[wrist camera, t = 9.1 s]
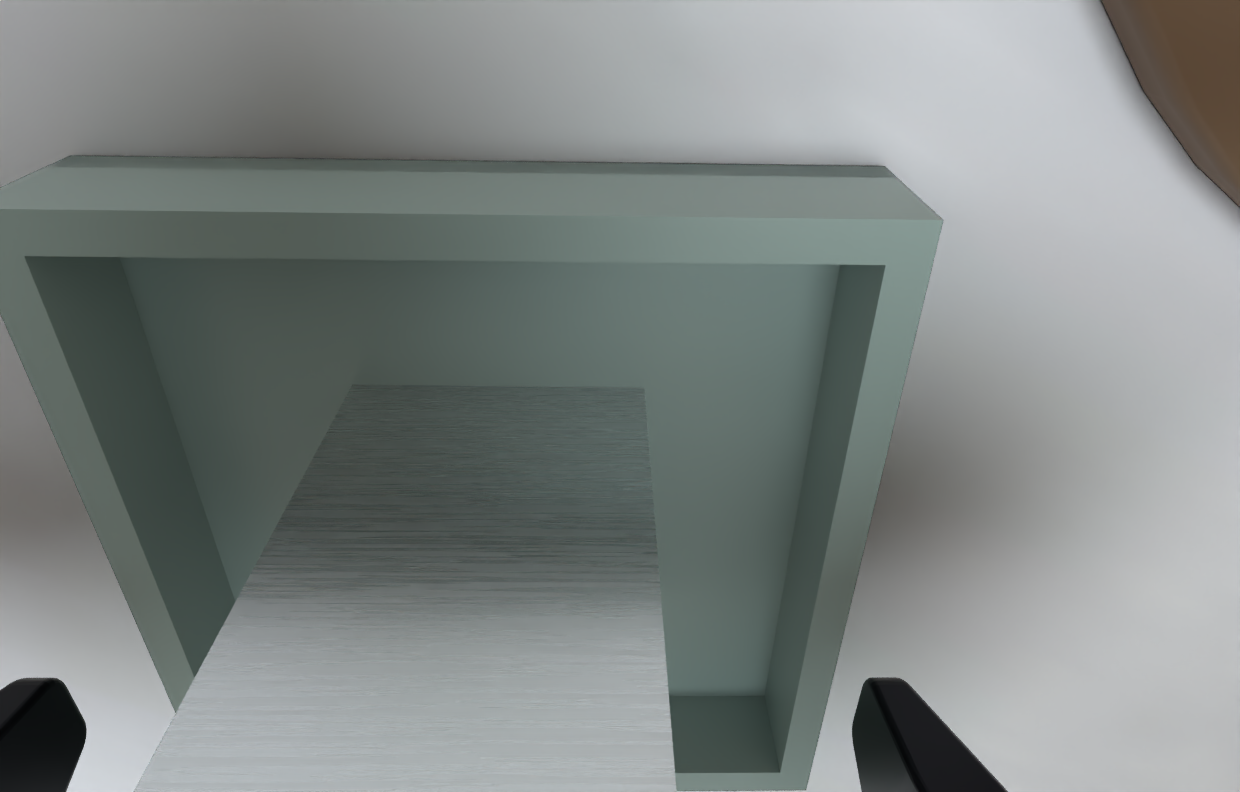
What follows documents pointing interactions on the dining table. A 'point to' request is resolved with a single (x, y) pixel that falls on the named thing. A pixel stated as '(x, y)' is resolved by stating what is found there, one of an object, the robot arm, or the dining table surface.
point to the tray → (488, 376)
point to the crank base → (1190, 75)
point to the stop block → (446, 609)
